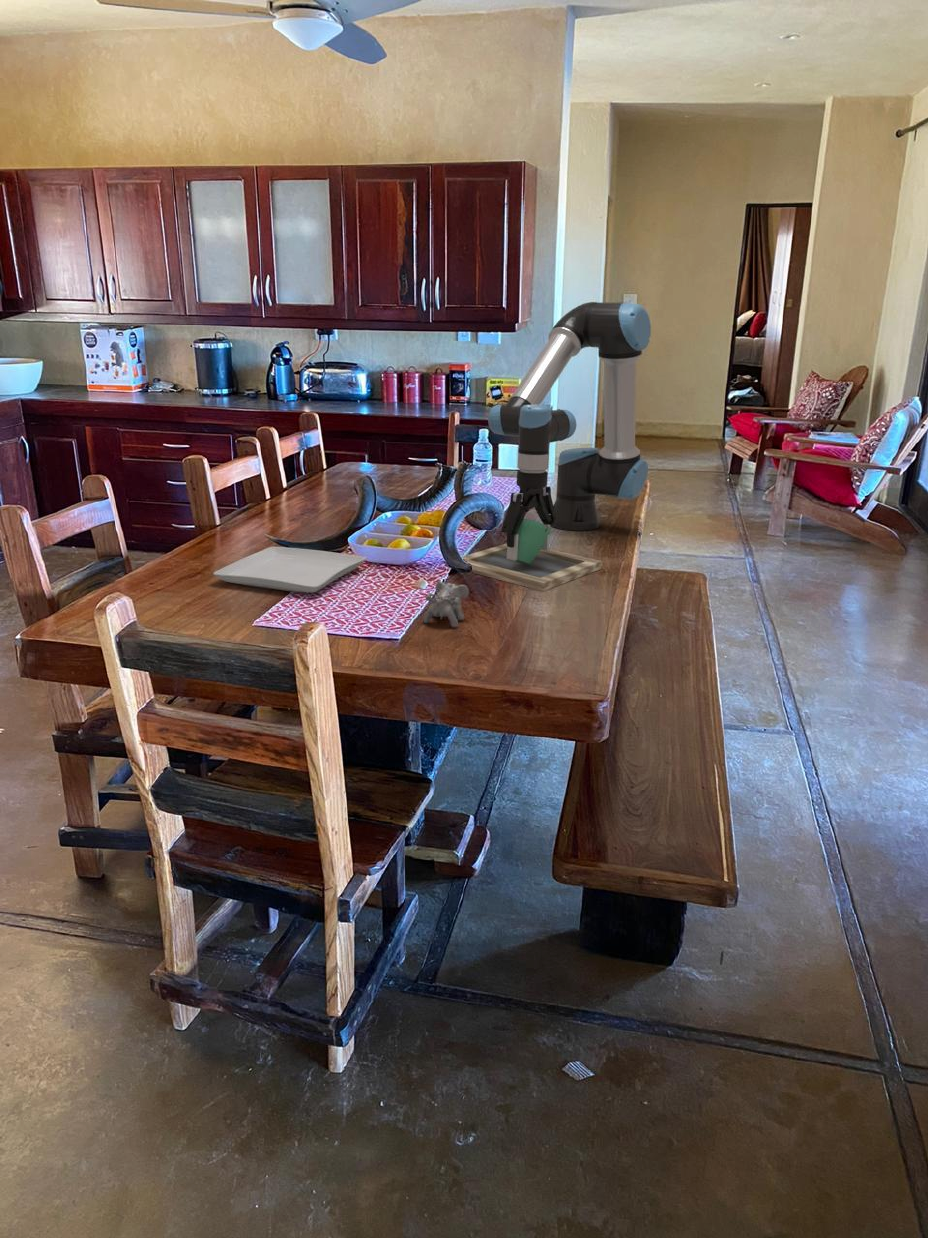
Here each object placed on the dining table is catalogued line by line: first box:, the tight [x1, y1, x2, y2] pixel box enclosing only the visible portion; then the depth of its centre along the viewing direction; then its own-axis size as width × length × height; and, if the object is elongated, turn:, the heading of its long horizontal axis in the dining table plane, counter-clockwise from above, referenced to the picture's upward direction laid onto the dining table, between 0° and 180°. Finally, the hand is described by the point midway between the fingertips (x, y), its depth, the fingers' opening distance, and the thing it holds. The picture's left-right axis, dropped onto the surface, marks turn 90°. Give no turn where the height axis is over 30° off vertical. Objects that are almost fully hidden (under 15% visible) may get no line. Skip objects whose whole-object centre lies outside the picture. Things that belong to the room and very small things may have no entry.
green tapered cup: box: [513, 518, 552, 565], centre depth 225 cm, size 15×10×10 cm
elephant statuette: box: [422, 580, 470, 628], centre depth 188 cm, size 9×12×8 cm
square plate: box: [212, 545, 367, 594], centre depth 214 cm, size 27×27×4 cm
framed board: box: [461, 542, 603, 592], centre depth 226 cm, size 26×28×2 cm
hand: (528, 554), depth 226 cm, fingers closed on green tapered cup, 13 cm apart
